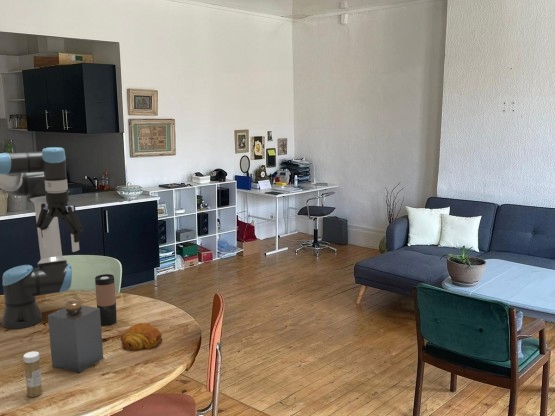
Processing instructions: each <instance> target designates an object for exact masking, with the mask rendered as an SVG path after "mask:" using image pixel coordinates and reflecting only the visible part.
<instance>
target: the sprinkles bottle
mask: <svg viewBox="0 0 555 416" xmlns="http://www.w3.org/2000/svg"><path fill="white" fill-rule="evenodd" d="M40 358H41V357H40V353H39V352H38V351H36V350H35V351H28V352H26V353H24V354H23V356H22V359H23V363H24V371H25V373H24V374H25V383H26V392H27V393H26V395H27V396H28V397H29V398H34V397H38V396H40V395H42V393H43V389H42V387H43V386H42V375H41V374H42V373H41V372H42V371H41V367H40Z"/></svg>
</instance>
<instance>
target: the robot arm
mask: <svg viewBox="0 0 555 416" xmlns="http://www.w3.org/2000/svg"><path fill="white" fill-rule="evenodd" d="M65 151H66V150H65V148H63V147H55V146H54V147H52V146H51V147H46V148H45V147H44V148H43V149H42V151H26V152H25V151H24V152H23V151H22V152H20V151H19V152H2V153H1V152H0V190H1V191H2V192H3V193H6V194H8V195H11V196H15V197H29V200H30V201H31V202H32V203H33V204H34V211H35V212H34V213H35V220H36V225H35V227H36V229H37V237H38V239H37V240H38V247H39V255H40V260H39V261H38V262H37V267H35V268H34V267H33V266H32V265H30V264H23V265H18V266H14V267H12V268H9V269H8V270H6V271H5V272H3V274H2V286H3V294H4V295H3V296H4V305H5V307H4V311H3V317H2V319H1V323H2V327H3V328H6V329H11V330H14V329H15V330H16V329H25V328H28V327H29V328H30V327H33V326H35V325H37V324H39V323H40V322H42V321H43V316H42V312H41V310H40V308H39V306H38V304H37V301H36V300H37V299H36V297H37V296H38V297H39V296H45V295H51V294H57V293H58V294H59V293H64V292H68V291H69V290H70V288H71V286H72V279H73V274H72V273H73V270H72V264H71V263H70V262H69V263H68V261H67V259H66V258H65V257H64V256H63V252H62V243H61V234H60V227H59V225H60V224H59V219H60V218H61V220H63V221H64V223H65V224H66V225H67V226H68V228H69V230H70V231H71V233H70V238H71V239H70V240H71V252H72V253H75V252H77V251H80V241H81V240H80V233H82V232H84V231H85V229H84V225H82V222H81V219H80V218H79V215H78V213H77V211H76V205H74V204H73V205H68V202H69V201H70V200H69V191H67V190H68V189H69V188H68V175H67V161H66V160H67V156H66V152H65Z"/></svg>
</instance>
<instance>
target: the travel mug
mask: <svg viewBox="0 0 555 416" xmlns="http://www.w3.org/2000/svg"><path fill="white" fill-rule="evenodd" d="M94 282H95V283H94V284H95V294H96V295H95V299H96V308H100V319H101V327H109V326H113V325H116V324H117V297H116V286H115V285H116V283H115V276H114V275H113V274H110V273H105V274H100V275H96V276H95V277H94Z"/></svg>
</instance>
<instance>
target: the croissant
mask: <svg viewBox="0 0 555 416" xmlns="http://www.w3.org/2000/svg"><path fill="white" fill-rule="evenodd" d="M162 335H163V334H162V332H161V331H160V330H159V328H157V327H155V326H154V325H152V324H151V323H146V322H145V323H143V322H140V323H137V324H136V323H135V324H133V325H132V326H130V327H129V328H127V329H126V330H125V331H124V332H122V334H121V337H120V341H121V344H122V346H123V347H124V349H126V350H130V351H132V350H136V351H137V350H149V349H151V348H153V347H155V346H157V345H158V344H159V343H160V342H161V340H162Z"/></svg>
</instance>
